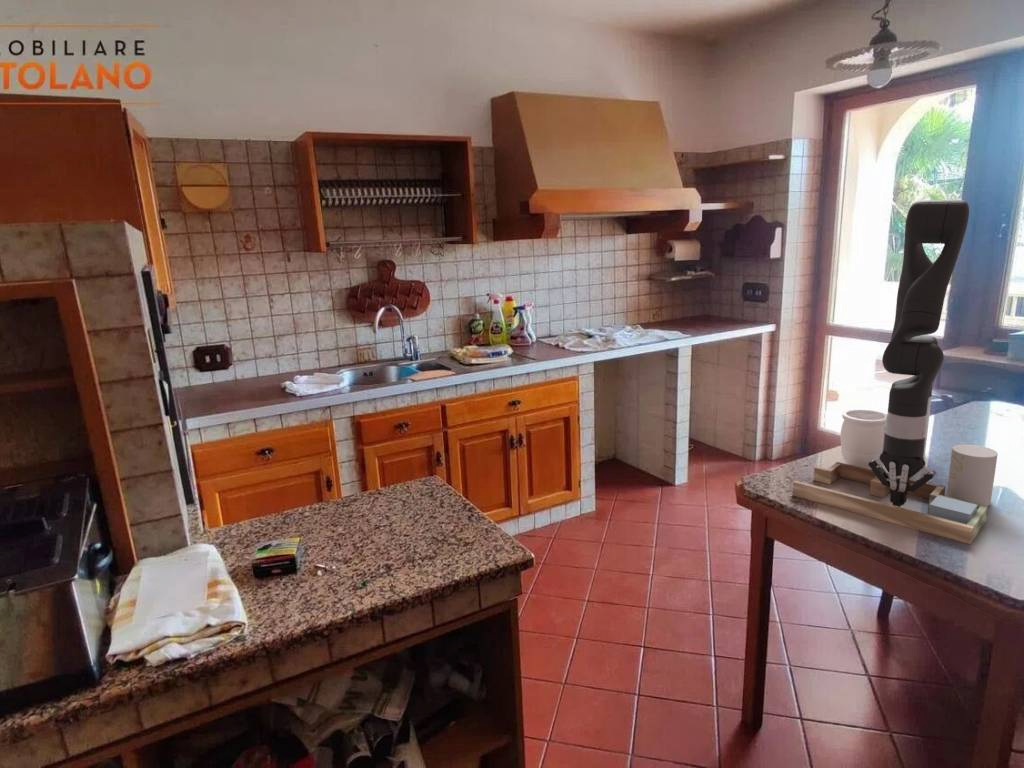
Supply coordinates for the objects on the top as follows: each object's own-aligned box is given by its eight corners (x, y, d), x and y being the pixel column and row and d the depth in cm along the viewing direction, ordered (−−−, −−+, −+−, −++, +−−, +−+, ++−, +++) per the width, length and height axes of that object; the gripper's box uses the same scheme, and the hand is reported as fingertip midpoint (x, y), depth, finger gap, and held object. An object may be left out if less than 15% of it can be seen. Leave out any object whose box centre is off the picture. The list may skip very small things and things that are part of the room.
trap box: (825, 471, 156) (825, 459, 155) (992, 511, 130) (994, 496, 130) (792, 495, 144) (793, 482, 143) (970, 544, 118) (972, 528, 117)
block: (935, 516, 130) (937, 495, 129) (974, 526, 125) (977, 504, 124) (927, 525, 127) (929, 504, 125) (967, 536, 121) (970, 514, 120)
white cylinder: (947, 489, 142) (953, 442, 139) (991, 496, 137) (998, 448, 134) (944, 501, 136) (950, 453, 133) (990, 510, 131) (997, 459, 128)
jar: (877, 462, 160) (882, 409, 157) (889, 477, 151) (895, 421, 147) (834, 460, 163) (837, 408, 159) (843, 475, 153) (847, 420, 150)
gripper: (945, 433, 127) (936, 507, 131) (876, 422, 136) (870, 491, 140) (936, 443, 122) (927, 519, 126) (865, 430, 131) (859, 502, 136)
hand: (897, 504), depth 133 cm, fingers closed
